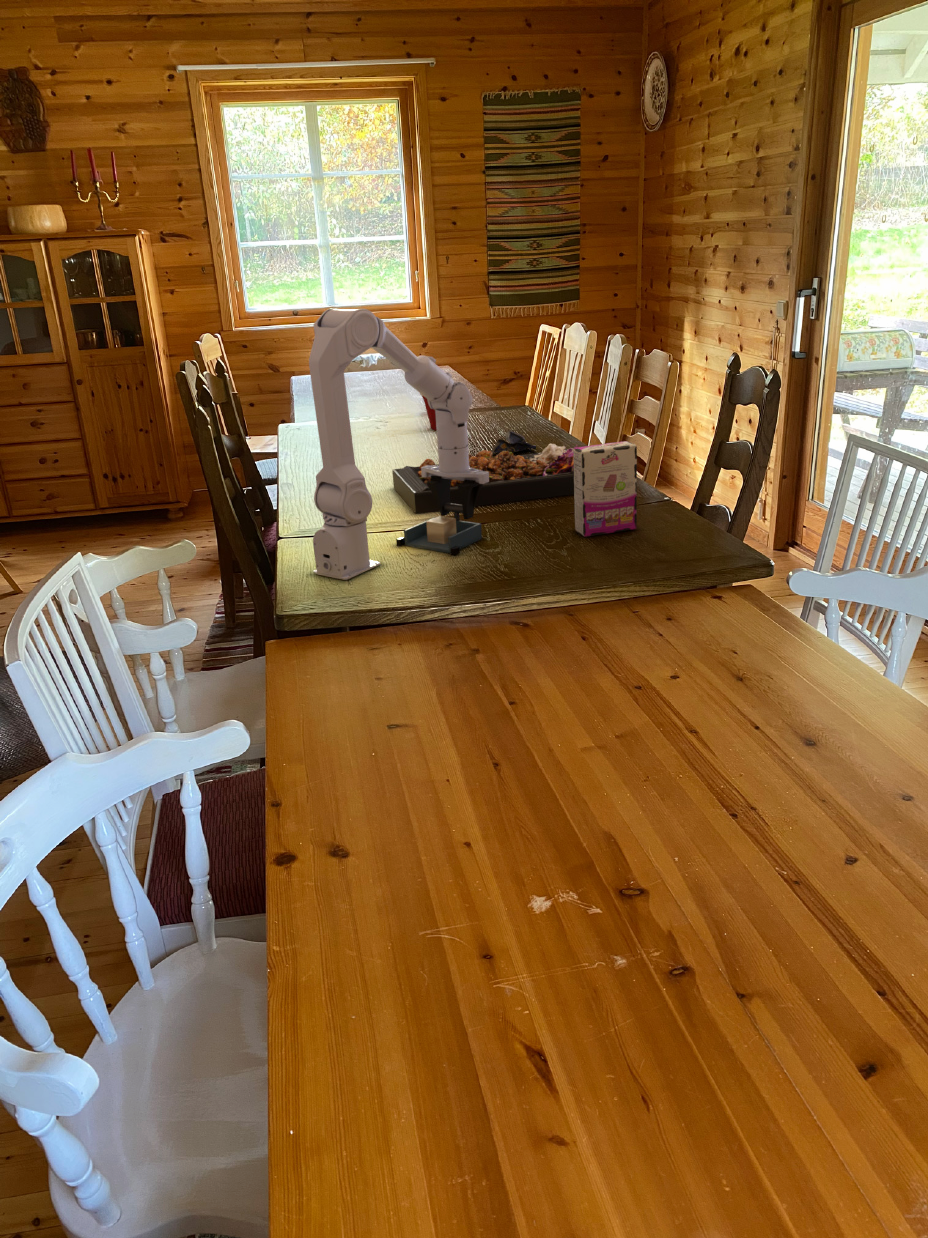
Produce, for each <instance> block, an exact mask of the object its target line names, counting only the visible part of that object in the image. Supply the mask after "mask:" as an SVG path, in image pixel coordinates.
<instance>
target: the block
mask: <svg viewBox="0 0 928 1238" xmlns="http://www.w3.org/2000/svg"><path fill="white" fill-rule="evenodd" d="M434 517H435V518H434ZM434 517H432V518H433V519H432V518H430V519H431V520H429V519H427V520H428V521H427V520H425V521H426V523H427V538H428V542H434V543H440V544H446V543H448V537H450V536H452V535H454V534H456V533H457V532H456V518H454V517H450V516H449V517H448V516H441V515H438V516H434Z"/></svg>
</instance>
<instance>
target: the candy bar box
mask: <svg viewBox="0 0 928 1238" xmlns="http://www.w3.org/2000/svg"><path fill="white" fill-rule="evenodd" d="M572 448H573V456H574V494H573V495H574V496H573V498H574V530H575V532H576V533H578V534H580V536H583V537H584V538H585V537H586V538H587V537H593V536H600V535H601V536H602V535H606V534H614V533H620V532H626V531H633V530H637V527H638V525H637V523H638V521H637V520H638V519H637V517H638V515H637V511H638V510H637V508H638V506H637V502H638V501H637V500H638V497H637V496H638V494H637V493H638V491H637V490H638V487H637V486H638V484H637V483H638V445H637V444H635V443H632V442H630V441H628V440H626V441H625V440H624V441H616V442H608V443H602V444H593V445H585V446H577V447H576V448H575V447H572Z"/></svg>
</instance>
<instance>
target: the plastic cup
mask: <svg viewBox="0 0 928 1238" xmlns="http://www.w3.org/2000/svg"><path fill="white" fill-rule="evenodd" d="M419 395H420V396H421V398H422V400H423V403H424V407H425V410H426V415H427V418H428V421H429V422H428V423H429V426H430V429H431V430H432V431H437V428H436V412H435V410H434V409H431V408H430V406H429V404H428V400H427V398H426V397H424V396H423V395H422V394H421V393H419Z"/></svg>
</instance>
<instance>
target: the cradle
mask: <svg viewBox="0 0 928 1238" xmlns="http://www.w3.org/2000/svg"><path fill="white" fill-rule="evenodd" d="M395 540H396V541H395V542H396V547H403V546H405V539H404V536H400V537H398V538H396V539H395ZM450 549H451V553H450V556H453V557H456V556H458V555H460V554H461V549H460V547H459V546H454V547H452V548H450Z"/></svg>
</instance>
